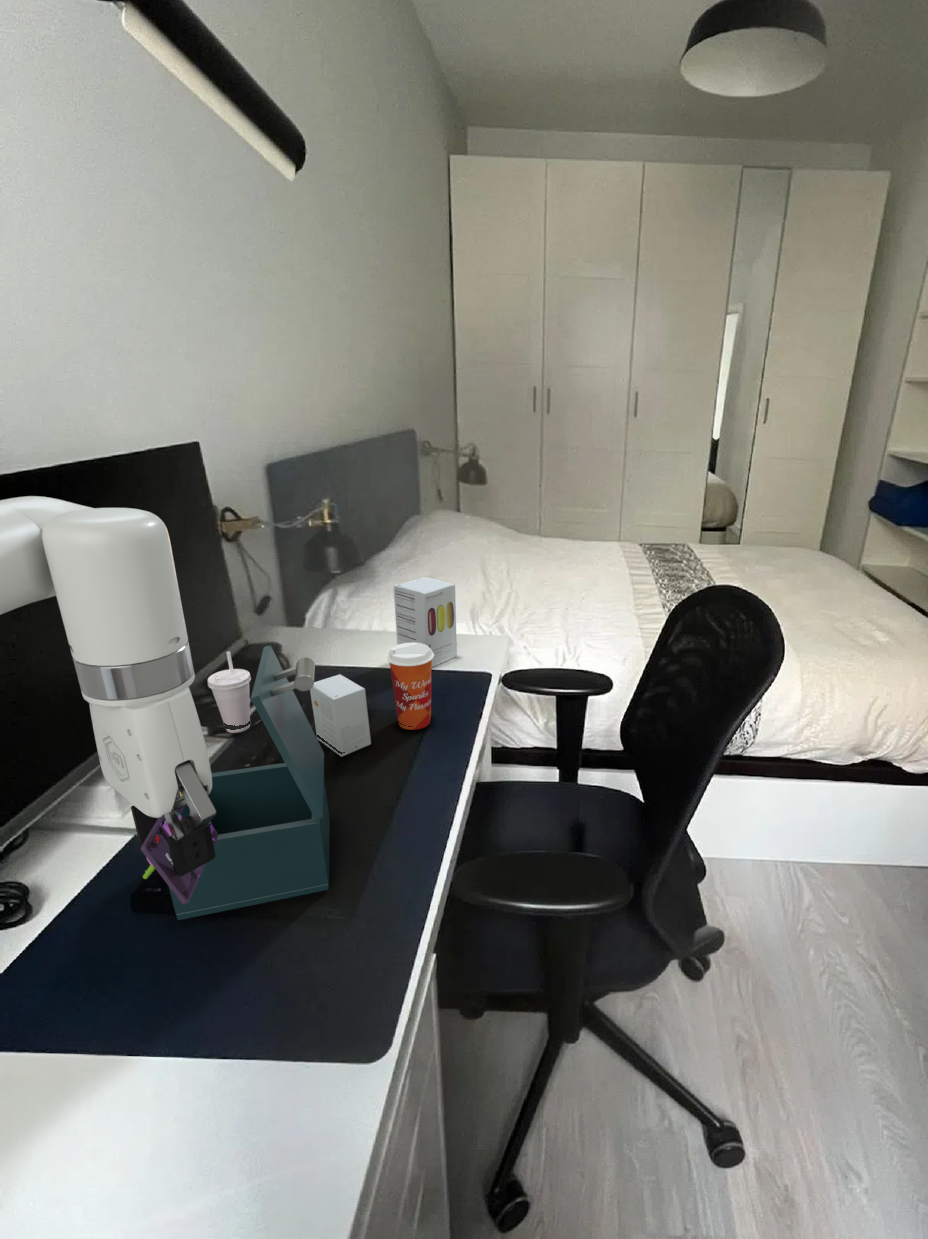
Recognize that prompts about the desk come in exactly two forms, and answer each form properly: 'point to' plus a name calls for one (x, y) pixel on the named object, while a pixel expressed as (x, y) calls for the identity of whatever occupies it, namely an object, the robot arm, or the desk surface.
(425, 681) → the paper cup
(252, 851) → the bin
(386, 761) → the desk surface
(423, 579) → the supplement box
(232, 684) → the smoothie
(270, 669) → the bin lid
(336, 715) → the small box
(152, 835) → the purple photo frame
